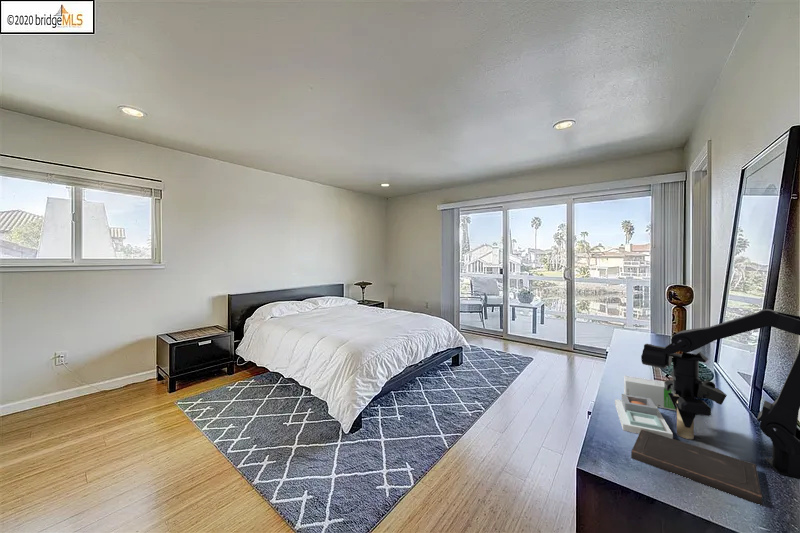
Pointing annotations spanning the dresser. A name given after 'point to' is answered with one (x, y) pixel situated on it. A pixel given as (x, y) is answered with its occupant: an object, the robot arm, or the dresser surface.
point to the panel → (641, 416)
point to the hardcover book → (699, 465)
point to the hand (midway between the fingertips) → (685, 424)
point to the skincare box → (648, 391)
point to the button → (637, 402)
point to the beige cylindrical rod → (684, 428)
